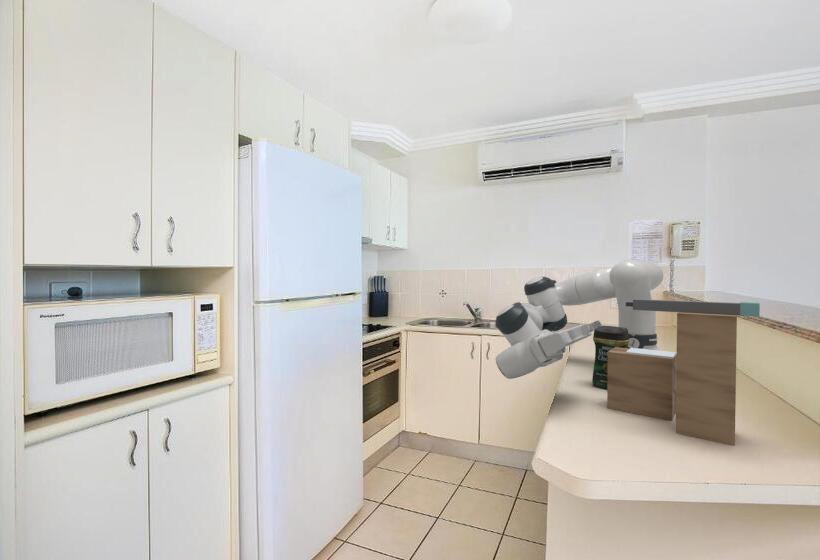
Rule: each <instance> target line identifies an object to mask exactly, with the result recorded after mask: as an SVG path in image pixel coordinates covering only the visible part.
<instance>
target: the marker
mask: <svg viewBox="0 0 820 560" xmlns="http://www.w3.org/2000/svg"><path fill="white" fill-rule="evenodd" d="M626 306H629V307H633V310H645V311H656V312H667V313H678V312H683V313H702V314H722V315H737V316H740V317H741V316H743V317H744V316H745V317H760V306H761V303H760V302H748V301H747V302H746V301H745V302H744V301H740V302H725V301H724V302H723V301H722V302H720V301H716V302H715V301H696V300H695V301H694V300H693V301H692V300H671V299H670V300H667V299H665V300H664V299H652V300H644V299H634V300H633V302H626Z"/></svg>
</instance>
